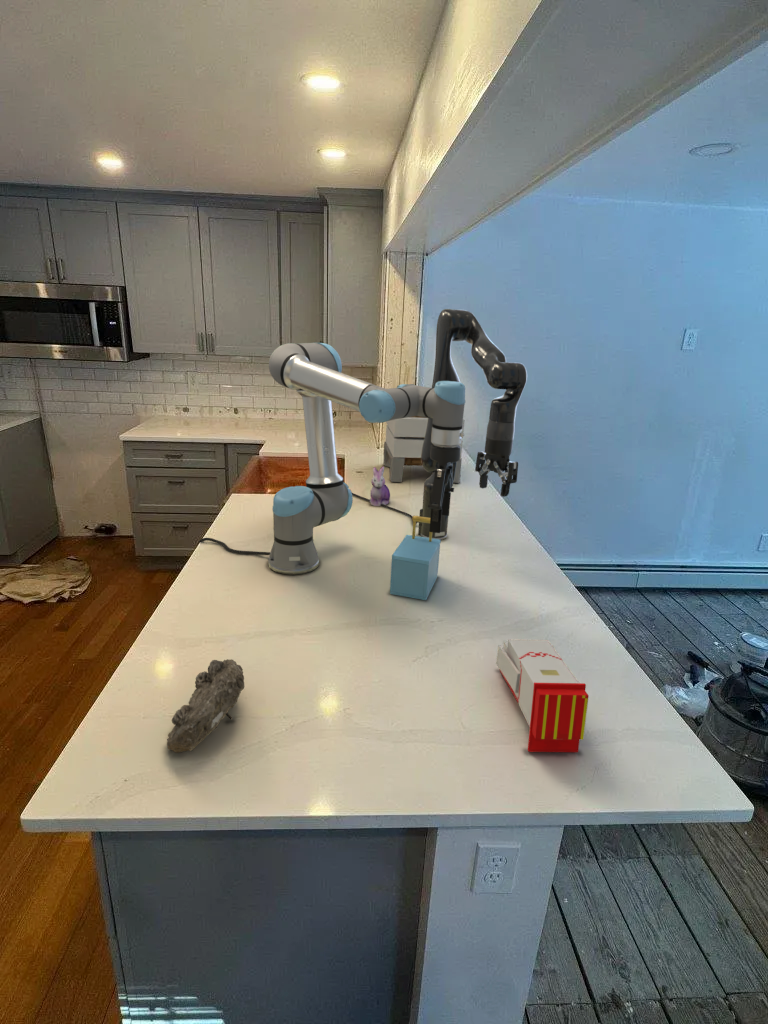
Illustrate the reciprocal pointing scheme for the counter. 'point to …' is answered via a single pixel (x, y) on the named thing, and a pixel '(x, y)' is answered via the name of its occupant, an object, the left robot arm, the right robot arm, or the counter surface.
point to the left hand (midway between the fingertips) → (439, 523)
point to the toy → (545, 694)
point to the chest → (413, 577)
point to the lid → (417, 546)
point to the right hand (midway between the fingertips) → (493, 491)
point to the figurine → (379, 488)
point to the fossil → (206, 705)
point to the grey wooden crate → (408, 445)
